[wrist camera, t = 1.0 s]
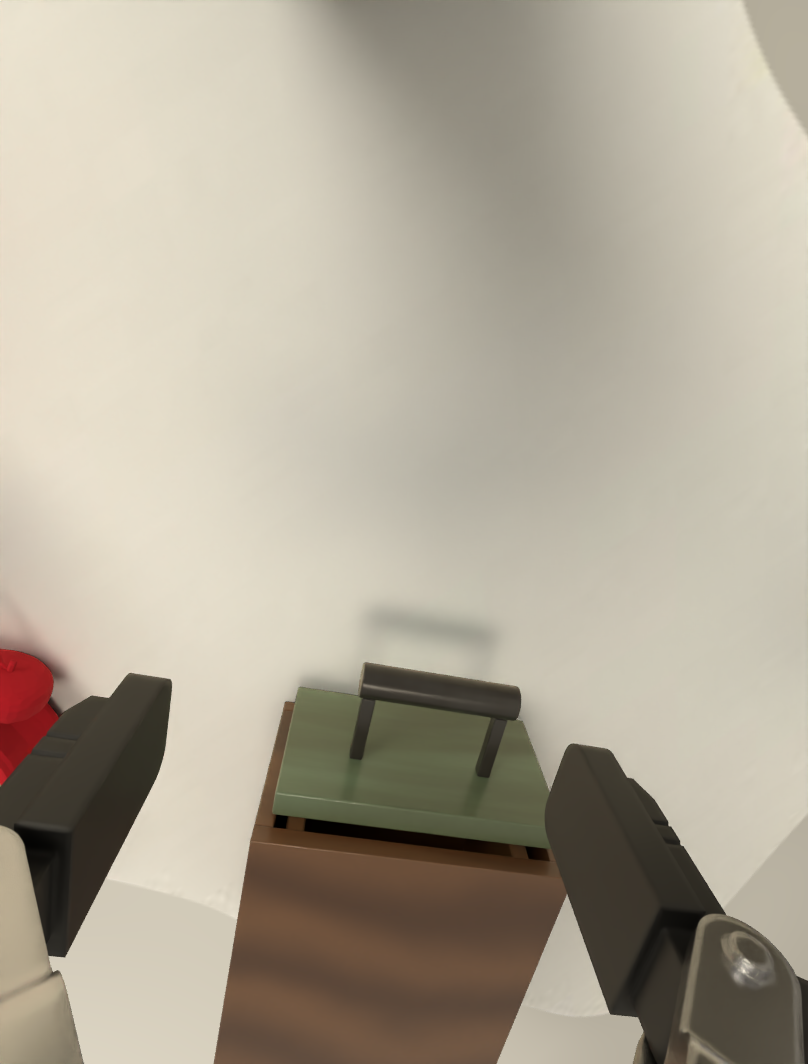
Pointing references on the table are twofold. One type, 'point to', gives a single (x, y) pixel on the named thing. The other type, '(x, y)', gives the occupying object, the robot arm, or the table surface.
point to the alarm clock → (22, 707)
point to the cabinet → (379, 946)
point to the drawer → (414, 764)
